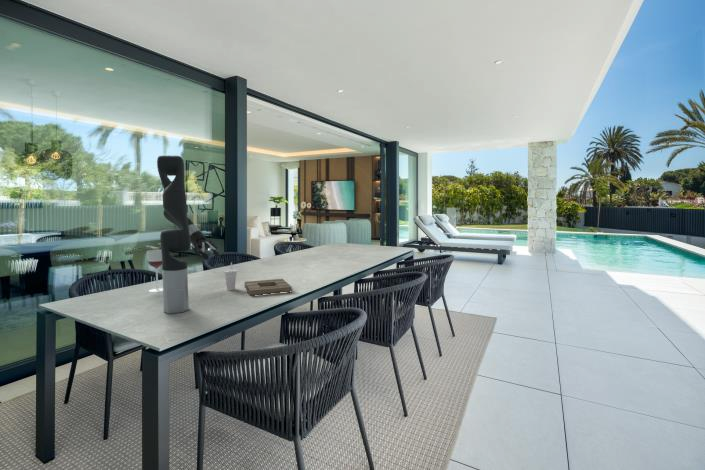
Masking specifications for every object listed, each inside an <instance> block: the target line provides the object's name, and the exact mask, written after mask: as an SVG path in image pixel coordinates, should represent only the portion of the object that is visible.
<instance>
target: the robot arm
mask: <svg viewBox="0 0 705 470" xmlns="http://www.w3.org/2000/svg"><path fill="white" fill-rule="evenodd" d="M156 166H157V167H156V168H157V172H158V176H159V178H160V181H161V186H162V188H163V193H162V206H163V216H164V218H165V219H166V220H168V222H169V223H172V224H173V225H175V226H176V227H177V228H178V229H163V230H161V232H160V236H159V237H160V238H159V239H160V249H161V252H162V265H161V267H162V268H161V269H162V271H161V272H162V288H163V291H162V294H163V295H162V297H163V312H164V313H166V314H170V315H171V314H178V313H185V312H186V311H188V310H189V309H190V307H189V280H188V279H189V278H188V277H189V276H188V274H189V273H188V262H187V261H186V260H184V259H181V258H176V257H174V256H173V255H172V254H171V253H185V252H188V251H189V250H190V249H192V250H193V251H194V253H195V254H196V255H197V256H202V257H203V259H204V260H205V261H209V259H210V256H209V255H208V254H207V253H206V251H208V252H211V253H212V254H213V255H214V256H215V258H220V257H221V254H220V253H219V251H217V250H218V248H219V247H218V246H217V245H216V244H215V243H214V242H213V240H209V241H207V240H206V238H207V237H206V236H205V234H204V233H203V232H202V231H201V229H200V228H199V227H198V225H197V226H196V224H195V223H194V222H193V221H192V220H191V219H190V217H188V205H187V204H188V203H187V202H188V201H187V195H186V194H187V193H186V187H185V162H184V159H183V157H182V156H180V155H166V154H165V155H159V156H157V159H156ZM169 177H174V179H173V180H171V179H170V178H169Z"/></svg>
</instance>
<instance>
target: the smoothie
mask: <svg viewBox="0 0 705 470" xmlns="http://www.w3.org/2000/svg"><path fill="white" fill-rule="evenodd" d="M223 273H224V277H225V279H224V280H225V284H226V290H227V291H234V289H236V281H237V273H238V270H237V269H233V262H232V261H231V262H230V269H226V270H224V271H223Z"/></svg>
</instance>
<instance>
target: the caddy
mask: <svg viewBox="0 0 705 470" xmlns="http://www.w3.org/2000/svg"><path fill="white" fill-rule="evenodd" d="M245 288H246V289H245ZM244 289H245V290H246V292H247V294H248V293H249V294H248V295H249V297H250V296H253V297H256V296H255V295H263V294H271V293H280V292H290V291H292V292H293V287H292V285H291V284H289V283H288V282H287V281H286V280H285V279H284V278H276V279H263V280H262V279H261V280H251V281H250V280H249V281H248V280H247V281H244ZM263 296H264V295H263Z"/></svg>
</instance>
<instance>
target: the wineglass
mask: <svg viewBox="0 0 705 470" xmlns="http://www.w3.org/2000/svg"><path fill="white" fill-rule="evenodd" d="M145 254H146V260H147V262H148V265H150V266H151V267H152V268H155V281H156V285H155V286H156V288H152V289H149V290H148V291H149V292H150V293H158V292H163V287H161V288H160V287H159V275H158V273H159V271H158V268H160V267H162V252H161V248H160V249H149V250H146V253H145Z"/></svg>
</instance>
